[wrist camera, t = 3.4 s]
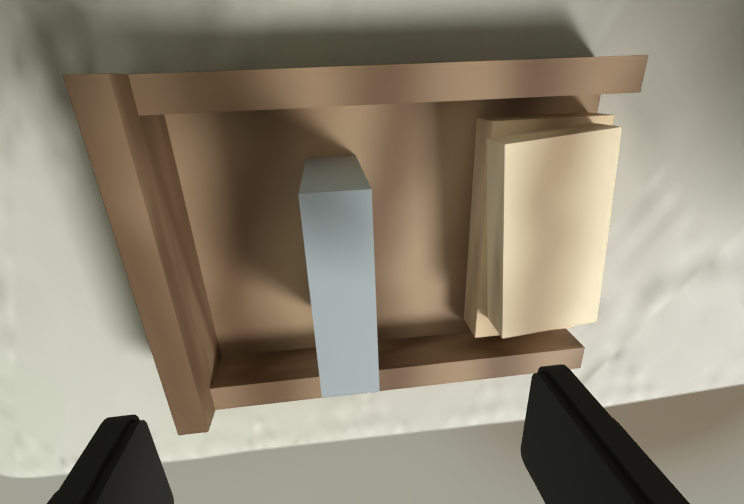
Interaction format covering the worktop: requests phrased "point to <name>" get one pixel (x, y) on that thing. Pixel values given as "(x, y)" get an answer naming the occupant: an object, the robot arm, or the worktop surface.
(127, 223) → the brown wooden tray
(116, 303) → the worktop surface
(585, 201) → the offcut stack
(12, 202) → the worktop surface
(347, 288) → the blue-grey rectangular block
